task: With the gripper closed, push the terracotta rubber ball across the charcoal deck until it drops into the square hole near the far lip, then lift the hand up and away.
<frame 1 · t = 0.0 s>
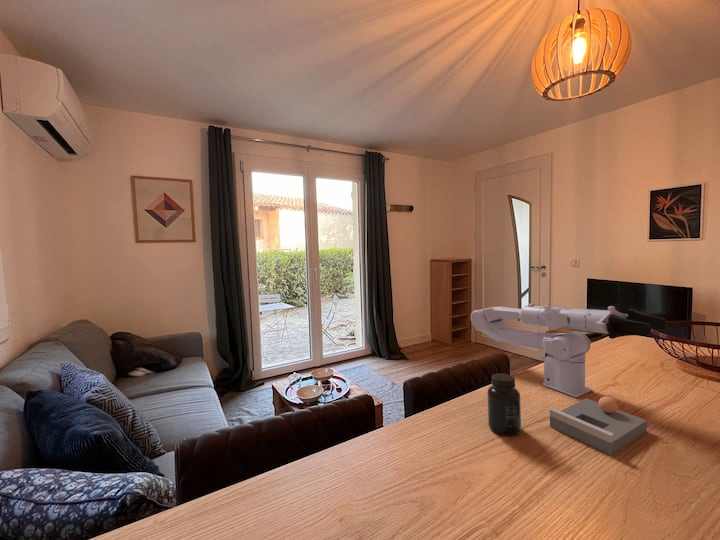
hand: (658, 326, 73), 22 cm above the table, tool horizontal, fingers open, 7 cm apart
ball: (608, 404, 74), point 4 cm above the table, touching hole deck
supplement bottle: (504, 429, 74), on the table
hole deck: (597, 428, 72), on the table
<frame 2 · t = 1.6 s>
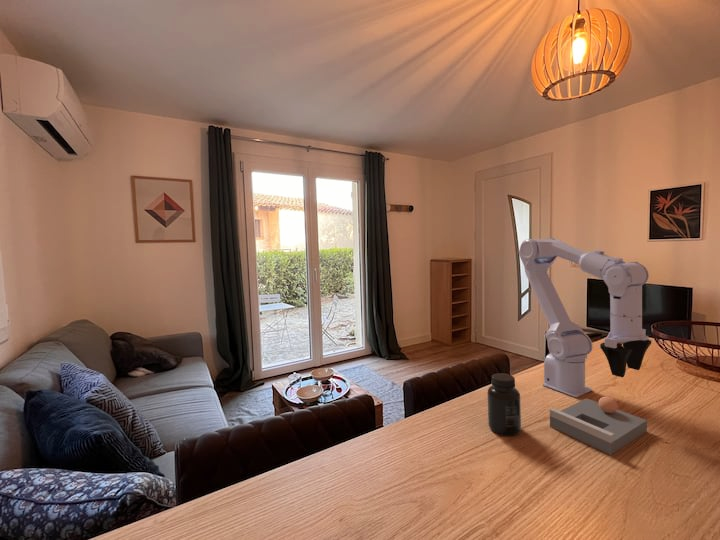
hand: (626, 372, 76), 10 cm above the table, tool pointing down, fingers open, 7 cm apart
nothing on the table moved.
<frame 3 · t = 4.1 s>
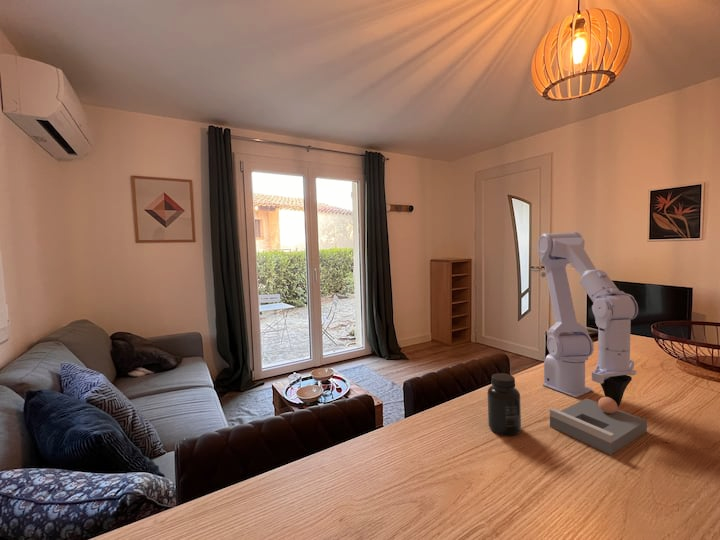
hand: (613, 405, 75), 4 cm above the table, tool pointing down, fingers closed, pressing on ball
ball: (607, 405, 74), point 4 cm above the table, touching gripper, hole deck
everything else where it was.
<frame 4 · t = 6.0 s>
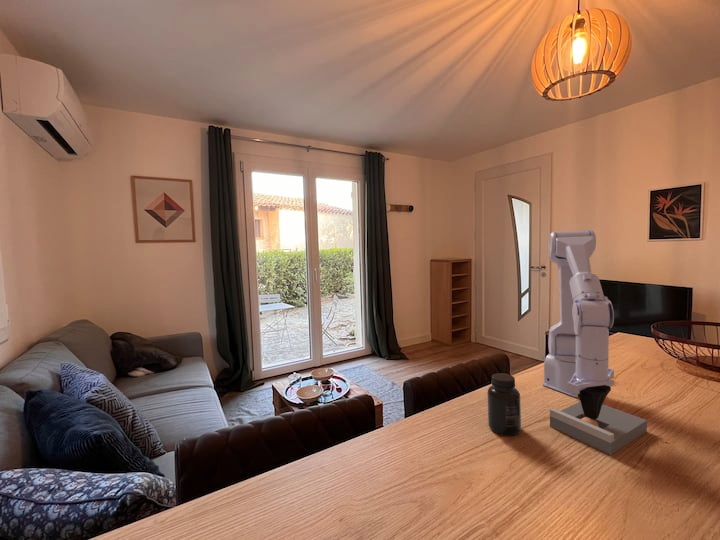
hand: (591, 416, 71), 4 cm above the table, tool pointing down, fingers closed
ball: (588, 426, 71), point 2 cm above the table, tilted 91°
everything else where it was.
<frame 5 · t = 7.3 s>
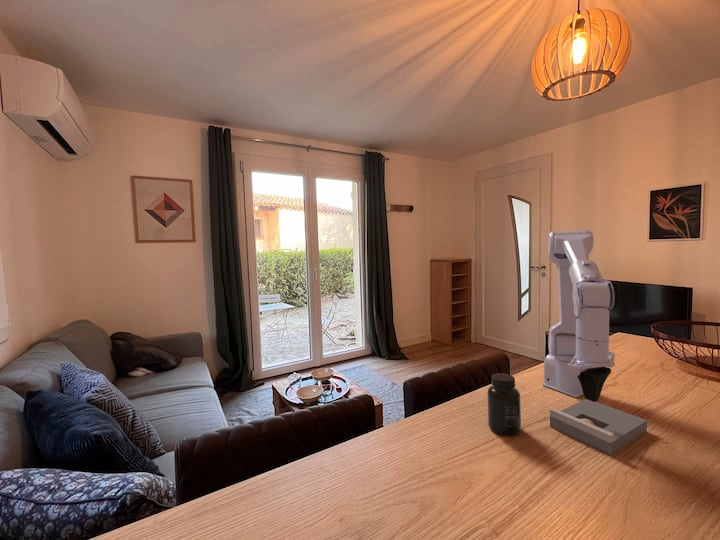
hand: (591, 399, 71), 7 cm above the table, tool pointing down, fingers closed
ball: (585, 427, 70), point 2 cm above the table, tilted 55°
everything else where it was.
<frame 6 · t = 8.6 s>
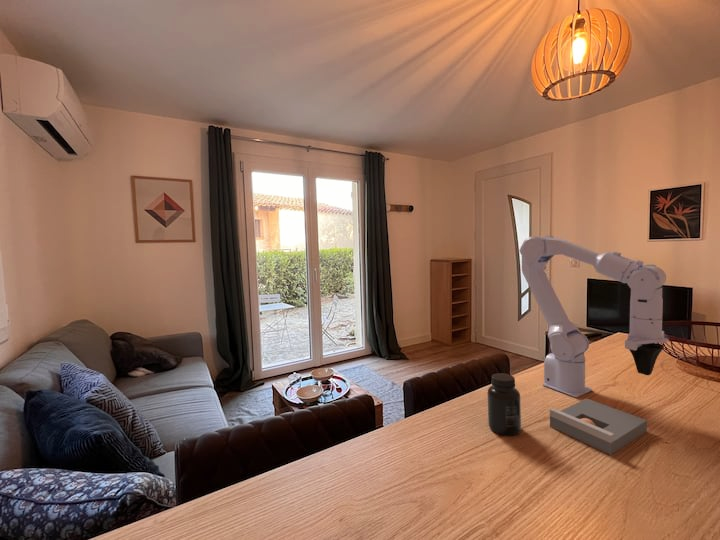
hand: (644, 373, 78), 9 cm above the table, tool pointing down, fingers closed
ball: (586, 427, 70), point 2 cm above the table, tilted 63°
everything else where it was.
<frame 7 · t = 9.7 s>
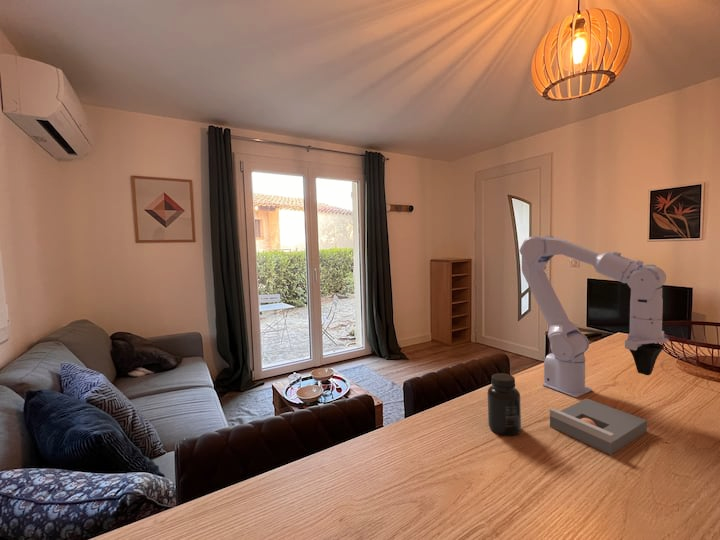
hand: (644, 373, 78), 9 cm above the table, tool pointing down, fingers closed
ball: (587, 426, 70), point 2 cm above the table, tilted 70°
everything else where it was.
at the end: ball 0.5 cm from the target spot on the hole deck, point 1.7 cm above the hole deck's base; ball moved 8.8 cm from its start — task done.
